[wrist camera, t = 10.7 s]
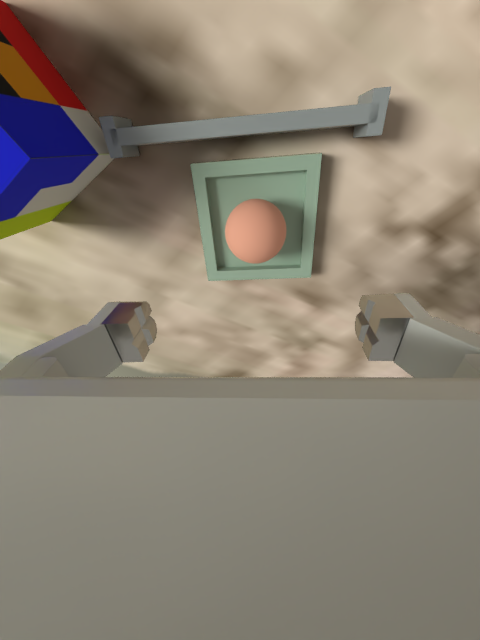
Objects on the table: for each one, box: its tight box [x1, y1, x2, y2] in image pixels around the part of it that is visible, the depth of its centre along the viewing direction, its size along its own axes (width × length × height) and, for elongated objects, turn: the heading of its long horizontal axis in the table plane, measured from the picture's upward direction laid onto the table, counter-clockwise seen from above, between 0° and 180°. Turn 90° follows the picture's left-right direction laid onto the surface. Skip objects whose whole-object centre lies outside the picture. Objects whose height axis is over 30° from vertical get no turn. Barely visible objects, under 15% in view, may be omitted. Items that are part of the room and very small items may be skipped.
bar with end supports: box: [99, 87, 391, 158], centre depth 18 cm, size 2×19×3 cm, turn 94°
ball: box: [225, 199, 286, 264], centre depth 21 cm, size 5×5×5 cm
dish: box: [190, 153, 322, 281], centre depth 23 cm, size 10×10×2 cm
